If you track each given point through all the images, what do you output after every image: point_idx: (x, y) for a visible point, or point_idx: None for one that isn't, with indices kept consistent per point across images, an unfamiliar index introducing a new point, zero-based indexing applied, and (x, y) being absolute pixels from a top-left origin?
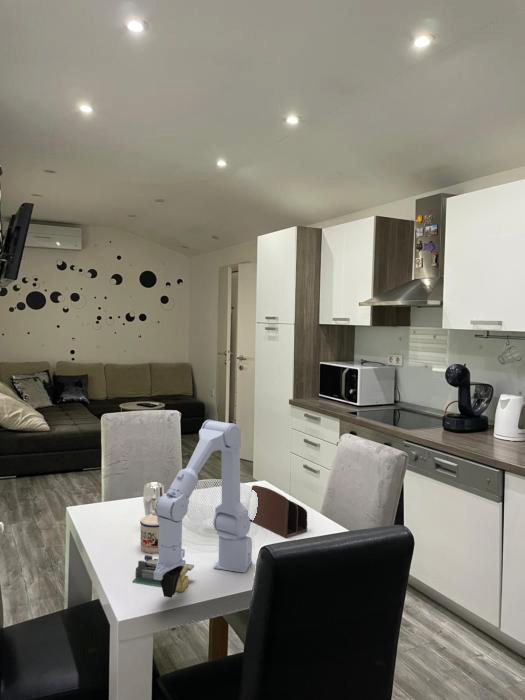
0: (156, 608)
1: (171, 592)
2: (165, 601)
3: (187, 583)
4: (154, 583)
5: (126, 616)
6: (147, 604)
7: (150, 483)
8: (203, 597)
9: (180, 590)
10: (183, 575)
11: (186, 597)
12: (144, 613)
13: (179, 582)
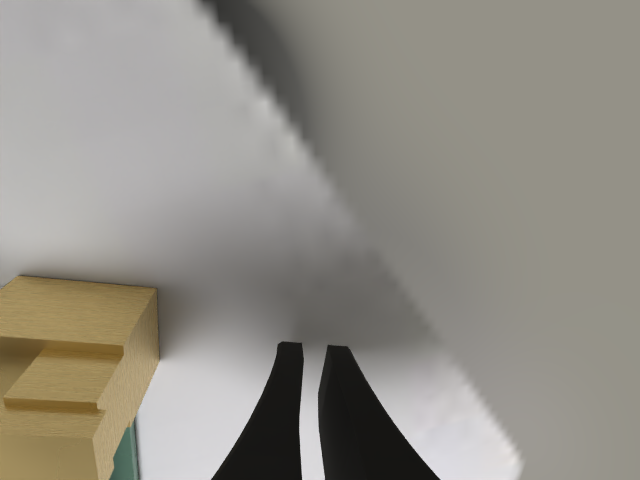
0: (421, 376)
1: (364, 381)
2: (323, 355)
3: (22, 292)
4: (121, 475)
5: (509, 470)
6: None
7: None
8: (181, 78)
9: (152, 310)
10: (41, 393)
11: (228, 236)
12: (481, 413)
13: (125, 368)
